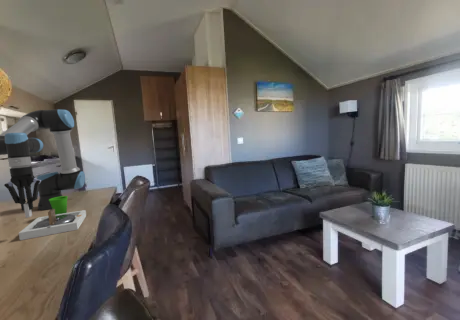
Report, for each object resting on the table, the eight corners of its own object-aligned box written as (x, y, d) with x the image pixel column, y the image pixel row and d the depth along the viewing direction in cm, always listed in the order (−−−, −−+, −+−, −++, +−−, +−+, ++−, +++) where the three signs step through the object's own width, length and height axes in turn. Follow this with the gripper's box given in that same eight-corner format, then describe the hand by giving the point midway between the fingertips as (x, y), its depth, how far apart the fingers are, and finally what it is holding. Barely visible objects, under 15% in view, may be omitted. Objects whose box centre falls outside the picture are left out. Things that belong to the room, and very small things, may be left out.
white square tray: (38, 223, 120) (37, 216, 120) (86, 215, 129) (85, 209, 129) (19, 240, 100) (18, 232, 100) (77, 229, 109) (76, 221, 108)
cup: (60, 219, 126) (57, 200, 124) (47, 219, 127) (44, 200, 126) (74, 213, 134) (71, 195, 133) (61, 213, 136) (59, 195, 135)
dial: (43, 221, 119) (40, 206, 118) (78, 215, 125) (76, 201, 124) (30, 232, 104) (27, 215, 103) (71, 225, 110) (68, 209, 109)
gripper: (-3, 169, 96) (6, 222, 98) (35, 165, 101) (43, 216, 103) (6, 167, 103) (14, 216, 105) (41, 164, 108) (48, 211, 110)
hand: (28, 216), depth 104 cm, fingers closed
